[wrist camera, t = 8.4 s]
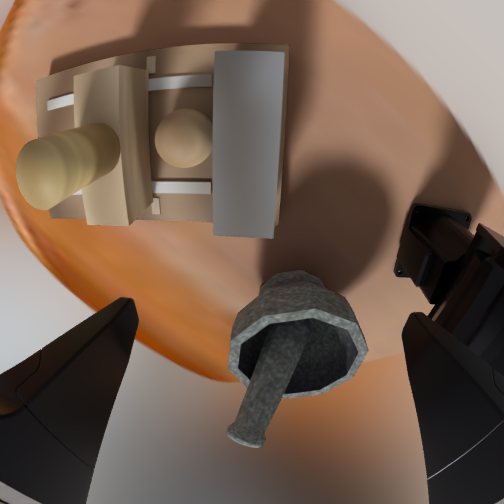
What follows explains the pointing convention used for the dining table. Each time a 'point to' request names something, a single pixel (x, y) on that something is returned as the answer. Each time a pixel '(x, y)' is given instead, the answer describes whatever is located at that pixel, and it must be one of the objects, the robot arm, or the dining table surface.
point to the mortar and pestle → (290, 348)
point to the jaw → (96, 150)
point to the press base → (155, 117)
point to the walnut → (184, 138)
